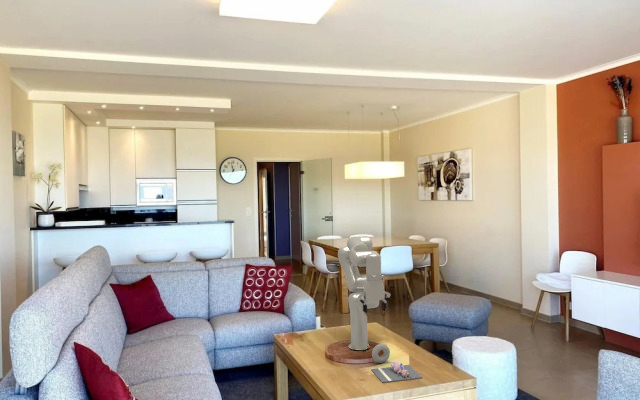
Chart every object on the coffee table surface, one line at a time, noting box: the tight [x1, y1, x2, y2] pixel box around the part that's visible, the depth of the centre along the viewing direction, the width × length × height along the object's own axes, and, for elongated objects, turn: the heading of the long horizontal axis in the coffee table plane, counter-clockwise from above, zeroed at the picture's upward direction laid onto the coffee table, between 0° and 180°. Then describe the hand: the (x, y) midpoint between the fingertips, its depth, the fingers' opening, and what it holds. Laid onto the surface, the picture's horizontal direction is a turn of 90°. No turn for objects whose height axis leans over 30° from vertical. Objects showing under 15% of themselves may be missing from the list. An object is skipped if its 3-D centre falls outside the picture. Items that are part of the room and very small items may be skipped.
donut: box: [371, 343, 391, 364], centre depth 248 cm, size 10×4×10 cm, turn 108°
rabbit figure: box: [389, 361, 411, 378], centre depth 232 cm, size 6×6×15 cm
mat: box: [371, 364, 423, 384], centre depth 233 cm, size 16×20×1 cm
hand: (374, 311), depth 243 cm, fingers open, 9 cm apart
